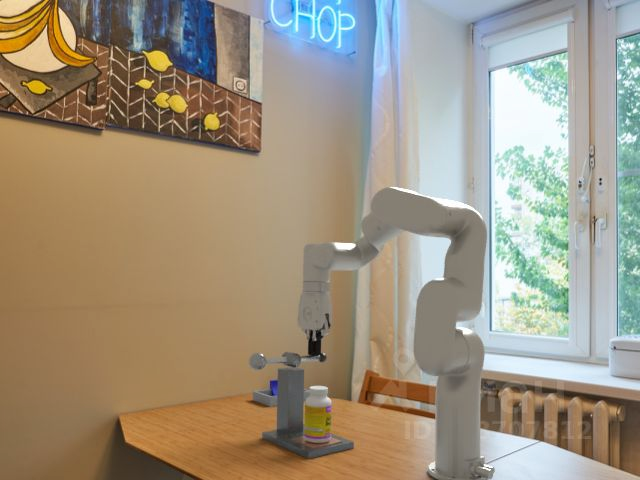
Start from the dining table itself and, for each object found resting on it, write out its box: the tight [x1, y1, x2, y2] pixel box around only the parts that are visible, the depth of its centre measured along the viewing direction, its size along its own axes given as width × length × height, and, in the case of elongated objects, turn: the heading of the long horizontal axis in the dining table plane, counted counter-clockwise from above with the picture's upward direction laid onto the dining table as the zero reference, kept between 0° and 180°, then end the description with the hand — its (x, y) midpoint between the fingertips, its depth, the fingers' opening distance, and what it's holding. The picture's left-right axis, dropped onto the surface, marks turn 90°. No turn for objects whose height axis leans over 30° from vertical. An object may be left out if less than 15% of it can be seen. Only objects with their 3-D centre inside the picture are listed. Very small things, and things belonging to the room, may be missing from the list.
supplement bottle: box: [304, 385, 332, 443], centre depth 141 cm, size 7×7×13 cm
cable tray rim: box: [252, 388, 310, 408], centre depth 191 cm, size 11×17×3 cm, turn 128°
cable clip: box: [269, 379, 278, 396], centre depth 191 cm, size 12×4×6 cm, turn 25°
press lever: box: [248, 351, 328, 371], centre depth 150 cm, size 4×24×4 cm, turn 128°
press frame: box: [261, 366, 355, 459], centre depth 144 cm, size 20×14×18 cm
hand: (314, 354), depth 156 cm, fingers closed
